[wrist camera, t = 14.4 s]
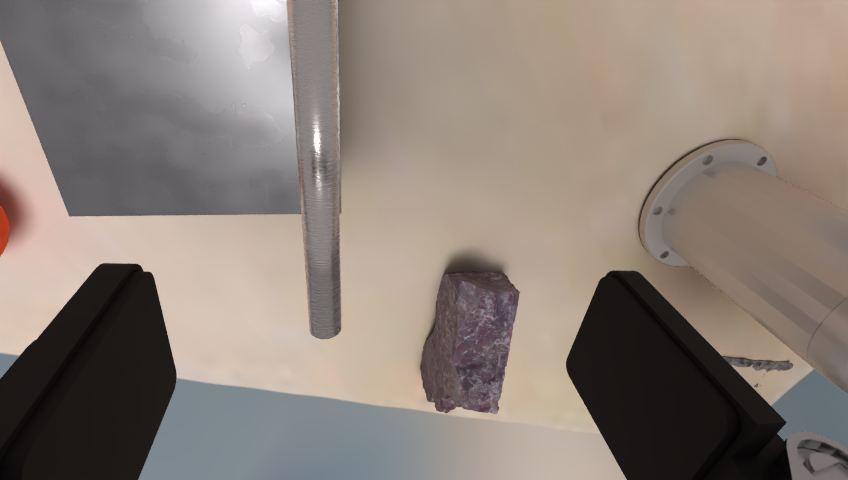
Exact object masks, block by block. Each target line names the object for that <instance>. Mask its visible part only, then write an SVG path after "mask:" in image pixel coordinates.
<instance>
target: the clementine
mask: <svg viewBox="0 0 848 480" xmlns="http://www.w3.org/2000/svg"><path fill="white" fill-rule="evenodd" d="M8 238H9V221H8V219H7V216H6V213H5V211H4V210H3V208H2V207H1V205H0V256H1V254H2V253H3V252H4V250H5V247H6V245H7V243H8Z"/></svg>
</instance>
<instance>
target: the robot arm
mask: <svg viewBox="0 0 848 480" xmlns="http://www.w3.org/2000/svg"><path fill="white" fill-rule="evenodd" d="M639 232H640V238H641V242H642V244H643V246H644V248H645V249H646V250H647V251H648V252H649V253H650V254H651V255H652V256H653V257H654V258H655V259H656V260H658V261H659V262H662V263H664V264H667V265H671V266H690V265H691V266H692V267H693V268H694V269H695V270H697V271H698V272H699V273H700V274H701V275H703V276H704V277H705V278H706V279H707V280H709V281H710V282H711V283H712V284H713V285H715V286H716V287H717V288H718V289H719V290H720V291H722V292H723V293H724V294H725V295H726V296H728V297H729V298H730V299H731V300H732V301H734V302H735V303H736V304H737V305H738V306H740V307H741V308H742V309H743V310H744V311H746V312H747V313H748V314H749V315H750V316H752V317H753V318H754V319H755V320H756V321H758V322H759V323H760V324H761V325H762V326H764V327H765V328H766V329H767V330H768V331H770V332H771V333H772V334H773V335H774V336H776V337H777V338H778V339H779V340H780V341H782V342H783V343H784V344H785V345H786V346H787V347H789V348H790V349H791V350H792V351H794V352H795V353H796V354H797V355H798V356H800V357H801V358H802V359H803V360H805V361H806V362H807V363H808V364H810V365H811V366H812V367H813V368H814V369H815V370H817V371H818V372H819V373H820V374H822V375H823V376H824V377H825V378H826V379H827V380H829V381H830V382H832V383H833V384H834V385H836V386H837V387H839V388H840V389H842V390H844V391H845V392H847V393H848V211H846V210H844V209H842V208H840V207H838V206H836V205H834V204H831V203H829V202H827V201H825V200H823V199H821V198H819V197H817V196H815V195H812V194H810V193H808V192H806V191H804V190H802V189H800V188H798V187H796V186H794V185H791V184H789V183H787V182H785V181H783V180H781V179H779V178H777V171H776V166H775V162H774V161H773V159H772V157H771V155H770V154H769V153H768V152H767V151H765V150H764V149H763V148H761V147H759V146H757V145H755V144H752V143H750V142H746V141H742V140H725V141H720V142H715V143H712V144H710V145H707V146H704V147H702V148H700V149H698V150H696V151H694V152H692V153H691V154H689V155H688V156H686V157H685V158H683V159H682V160H681V161H679V162H678V163H676V164H675V165H674V166H673V167H672V168H671V169H670V170H669V171H668V172H667V173H666V174H665V175H664V176H663V177H662V178H661V180H660V181H659V182H658V183H657V184H656V186H655V187H654V189H653V190H652V192H651V193H650V195H649V197H648V199H647V201H646V203H645V205H644V208H643V210H642V214H641V218H640V227H639ZM566 368H567V372H568V375H569V377H570V379H571V380H572V382H573V384H574V386H575V388H576V389H577V391H578V393H579V395H580V397H581V398H582V400H583V402H584V404H585V405H586V407H587V409H588V411H589V413H590V414H591V416H592V418H593V420H594V422H595V423H596V425H597V427H598V429H599V431H600V432H601V434H602V436H603V438H604V440H605V441H606V443H607V445H608V447H609V449H610V450H611V452H612V454H613V455H614V457H615V459H616V461H617V463H618V465H619V466H620V468H621V470H622V472H623V474H624V475H625V477H626V479H627V480H848V449H847V448H846V447H844V446H842V445H840V444H838V443H837V442H835V441H833V440H831V439H829V438H826V437H823V436H820V435H818V434H815V433H809V432H803V431H801V432H796V433H792V434H791V435H790V436H789V437H788V438H787V439H786V440H785V441H783V439H781V437H780V436H779V435H778V434H777V433H778V432H779V430H780V429H781V428H782V427H783V426H784V425H785V424H786V421H785V420H784V419H783V418H782V417H781V416H780V415H779V414H778V413H777V412H776V411H775V410H774V409H773V408H772V407H771V406H770V405H769V404H768V403H767V402H766V401H765V400H764V399H763V398H762V397H761V396H760V395H759V394H758V393H757V392H756V391H755V390H754V389H753V388H752V387H751V386H750V385H749V383H748V382H747V381H746V380H745V379H744V378H743V377H742V376H741V375H740V374H739V373H738V372H737V371H736V370H735V369H734V368H733V367H732V366H731V365H730V364H729V363H728V362H727V361H726V360H725V359H724V358H723V357H722V356H721V355H720V354H719V353H718V352H717V351H716V350H715V349H714V348H713V347H712V346H711V345H710V344H709V343H708V342H707V341H706V340H705V339H704V338H703V337H702V336H701V335H700V334H699V333H698V332H697V331H696V330H695V329H694V328H693V327H692V325H691V324H690V323H689V322H688V321H687V320H686V319H685V318H684V317H683V316H682V315H681V314H680V313H679V312H678V311H677V310H676V309H675V308H674V307H673V306H672V305H671V304H670V303H669V302H668V301H667V300H666V299H665V298H664V297H663V296H662V295H661V294H660V293H659V292H658V291H657V290H656V289H655V288H654V287H653V286H652V285H651V284H650V283H649V282H648V281H647V280H646V279H645V278H644V277H643V276H642V275H641V274H640V273H639V272H636V271H610V272H609V273H608V274H607V275H606V276H605V277H603V278H602V279H601V280H600V281H599V283H598V286H597V288H596V290H595V293H594V295H593V298H592V300H591V302H590V305H589V307H588V310H587V312H586V314H585V317H584V319H583V322H582V324H581V326H580V329H579V331H578V334H577V336H576V338H575V341H574V343H573V346H572V348H571V350H570V353H569V355H568V357H567V361H566ZM175 384H176V369H175V364H174V360H173V356H172V352H171V348H170V343H169V339H168V335H167V331H166V327H165V322H164V318H163V314H162V310H161V306H160V301H159V297H158V293H157V289H156V285H155V280H154V277H153V275H152V273H151V272H143V269H142V267H141V266H140V265H138V264H110V263H104V264H100V265H99V266H98V267H97V268H96V269H95V270H94V271H93V272H92V274H91V275H90V276H89V277H88V278H87V280H86V281H85V282H84V283H83V284H82V286H81V287H80V288H79V289H78V290H77V292H76V293H75V294H74V295H73V296H72V298H71V299H70V300H69V301H68V302H67V304H66V305H65V306H64V307H63V308H62V310H61V311H60V312H59V313H58V315H57V316H56V317H55V318H54V319H53V321H52V322H51V323H50V324H49V325H48V327H47V328H46V329H45V330H44V331H43V333H42V334H41V335H40V336H39V337H38V339H37V340H35V341H34V342H32V343H31V344H30V345H29V346H28V347H27V348H26V349H25V350H24V352H23V353H22V354H21V355H20V356H19V358H18V359H17V360H16V361H15V362H14V364H13V365H12V366H11V367H10V368H9V370H8V371H7V372H6V373H5V374H4V375H3V377H2V378H1V379H0V480H138V478H139V476H140V473H141V471H142V469H143V466H144V464H145V461H146V459H147V456H148V454H149V451H150V449H151V446H152V444H153V441H154V439H155V436H156V434H157V431H158V429H159V426H160V424H161V421H162V419H163V416H164V414H165V411H166V409H167V407H168V404H169V402H170V399H171V397H172V394H173V392H174V389H175Z"/></svg>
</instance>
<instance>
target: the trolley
mask: <svg viewBox="0 0 848 480" xmlns="http://www.w3.org/2000/svg"><path fill="white" fill-rule="evenodd" d="M0 41H1V43H2V46H3V48H4V51H5V54H6V56H7V59H8V61H9V64H10V66H11V69H12V71H13V74H14V76H15V79H16V82H17V84H18V87H19V89H20V92H21V94H22V97H23V99H24V102H25V104H26V107H27V110H28V112H29V115H30V117H31V120H32V122H33V125H34V127H35V130H36V133H37V135H38V138H39V140H40V143H41V145H42V148H43V150H44V153H45V155H46V158H47V161H48V163H49V166H50V168H51V171H52V173H53V176H54V178H55V181H56V183H57V186H58V189H59V191H60V194H61V196H62V199H63V201H64V204H65V206H66V209H67V211H68V214H69V216H141V215H239V214H302V228H303V242H304V256H305V270H306V284H307V298H308V313H309V327H310V333H311V334H312V335H313V336H314V337H316V338H319V339H329V338H332V337H334V336H336V335H337V334H339V332H340V331H341V278H340V223H339V213H341V167H340V104H339V40H338V0H0Z"/></svg>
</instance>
